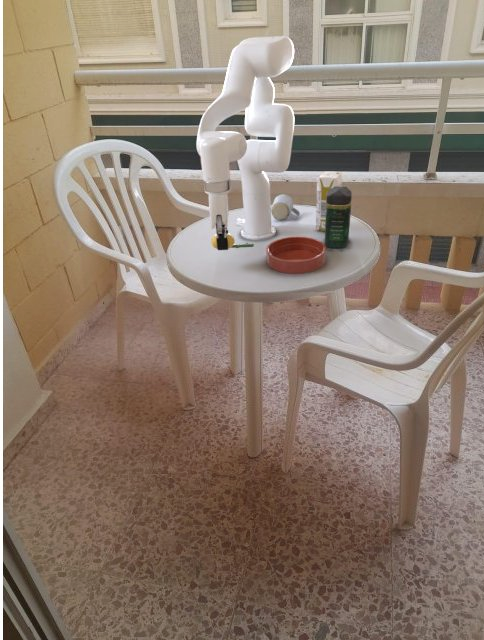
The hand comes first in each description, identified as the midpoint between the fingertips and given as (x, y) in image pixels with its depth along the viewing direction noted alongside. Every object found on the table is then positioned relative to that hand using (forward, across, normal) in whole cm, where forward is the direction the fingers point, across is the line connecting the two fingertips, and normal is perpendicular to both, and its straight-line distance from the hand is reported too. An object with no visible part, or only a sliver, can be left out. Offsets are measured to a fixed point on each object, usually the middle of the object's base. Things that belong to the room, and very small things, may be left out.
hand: (223, 245), depth 137 cm
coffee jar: (+8, -14, +37) cm, 40 cm away
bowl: (+8, -3, +22) cm, 24 cm away
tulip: (+1, 0, +3) cm, 3 cm away
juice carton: (+8, -28, +36) cm, 46 cm away
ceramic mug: (+8, -41, +21) cm, 47 cm away
